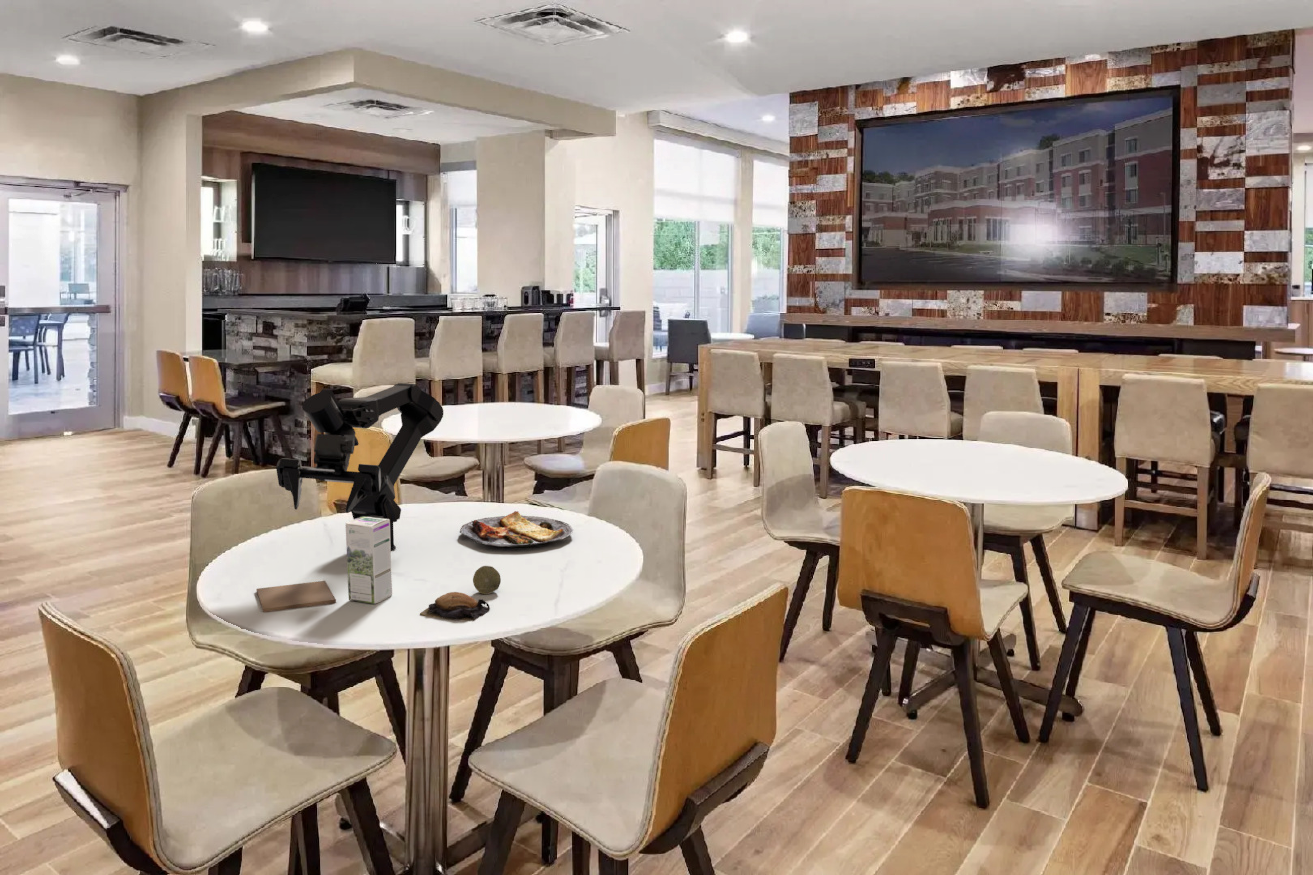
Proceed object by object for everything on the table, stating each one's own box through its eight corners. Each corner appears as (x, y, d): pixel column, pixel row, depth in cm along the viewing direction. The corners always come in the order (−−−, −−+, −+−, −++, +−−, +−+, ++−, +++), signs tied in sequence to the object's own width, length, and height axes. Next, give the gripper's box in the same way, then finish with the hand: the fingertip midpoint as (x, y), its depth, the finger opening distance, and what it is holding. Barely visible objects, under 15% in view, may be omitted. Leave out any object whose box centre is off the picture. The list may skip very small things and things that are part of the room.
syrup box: (393, 595, 179) (391, 517, 177) (374, 605, 174) (371, 525, 171) (366, 591, 181) (364, 514, 179) (346, 601, 175) (344, 522, 173)
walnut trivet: (325, 583, 185) (324, 580, 185) (335, 602, 174) (335, 599, 174) (256, 591, 180) (256, 588, 179) (263, 612, 169) (263, 608, 169)
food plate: (442, 532, 223) (442, 517, 222) (529, 519, 238) (529, 504, 237) (500, 560, 204) (501, 544, 203) (591, 544, 219) (591, 528, 218)
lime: (504, 591, 182) (504, 565, 181) (484, 598, 179) (483, 571, 178) (488, 586, 185) (488, 561, 184) (468, 592, 182) (467, 566, 181)
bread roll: (416, 619, 169) (415, 598, 168) (440, 604, 177) (439, 584, 176) (473, 626, 166) (472, 605, 165) (494, 609, 174) (494, 589, 173)
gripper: (282, 415, 186) (263, 477, 175) (383, 423, 189) (371, 484, 178) (288, 455, 194) (270, 516, 183) (385, 462, 196) (373, 523, 185)
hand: (321, 509), depth 182 cm, fingers open, 9 cm apart
